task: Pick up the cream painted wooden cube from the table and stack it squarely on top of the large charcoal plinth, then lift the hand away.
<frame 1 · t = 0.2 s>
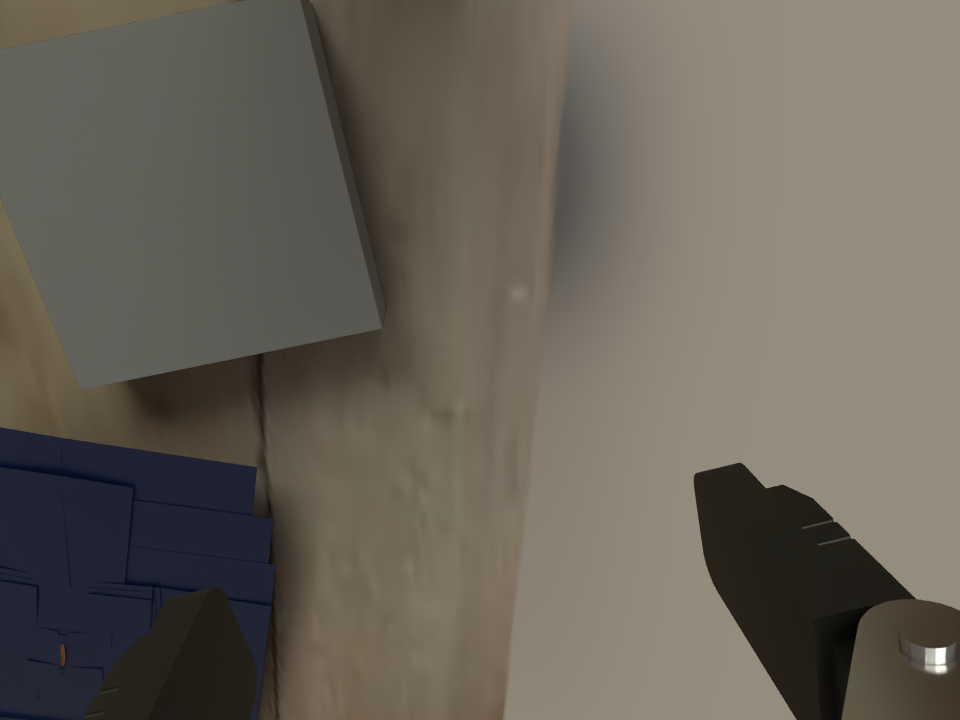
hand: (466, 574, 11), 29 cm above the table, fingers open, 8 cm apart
papers: (85, 610, 45), on the table
charcoal plinth: (206, 197, 37), on the table
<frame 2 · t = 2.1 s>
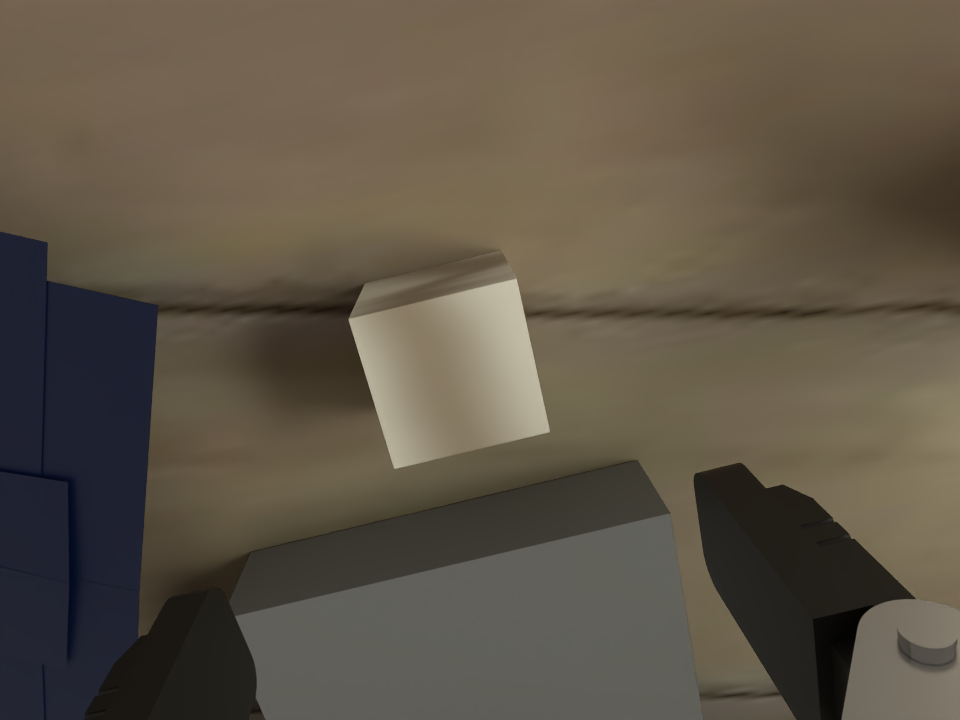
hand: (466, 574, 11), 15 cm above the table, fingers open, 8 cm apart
cream cube: (449, 331, 25), on the table
charcoal plinth: (487, 660, 30), on the table
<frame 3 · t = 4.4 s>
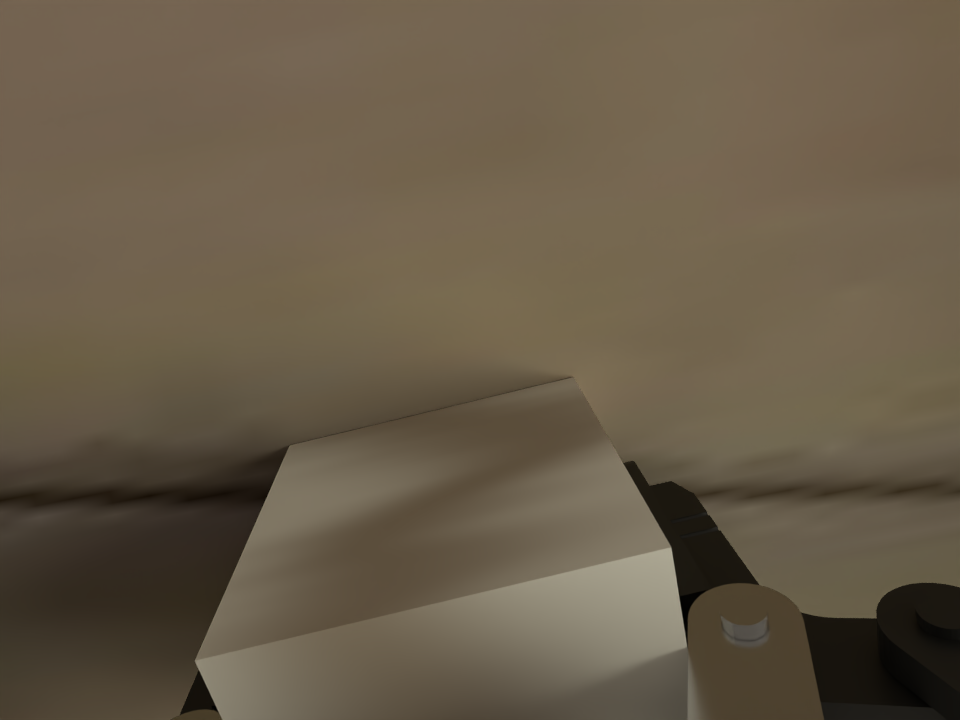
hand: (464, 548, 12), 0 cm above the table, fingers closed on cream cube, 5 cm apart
cream cube: (465, 533, 13), on the table, touching gripper
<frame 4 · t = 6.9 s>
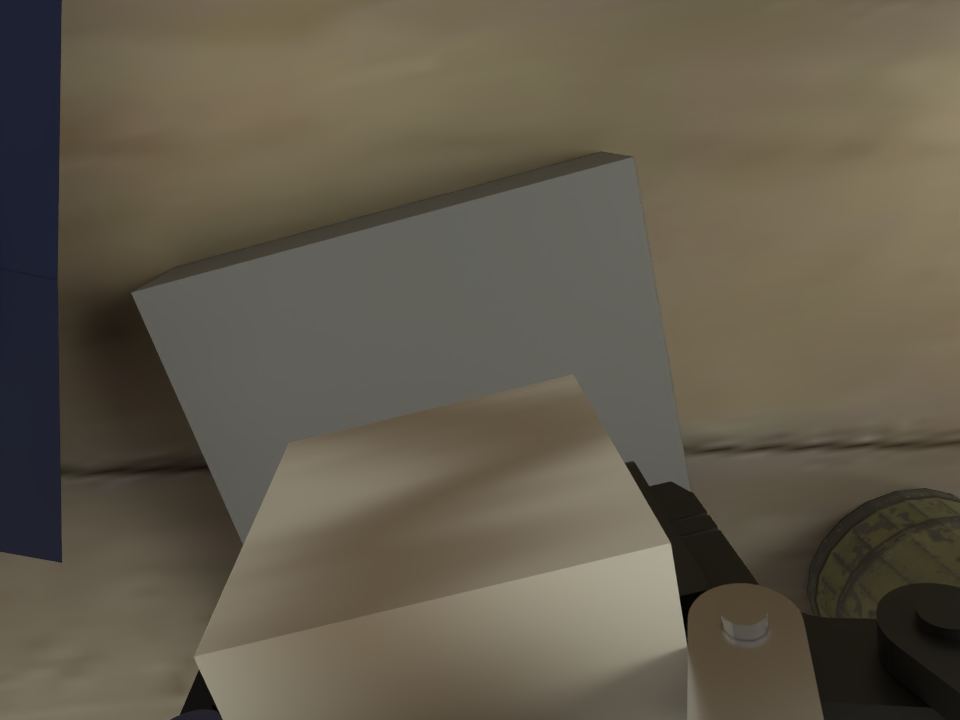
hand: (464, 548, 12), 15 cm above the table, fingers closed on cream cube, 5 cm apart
cream cube: (464, 530, 12), point 15 cm above the table, touching gripper
thermos: (894, 569, 32), on the table
charcoal plinth: (446, 405, 27), on the table
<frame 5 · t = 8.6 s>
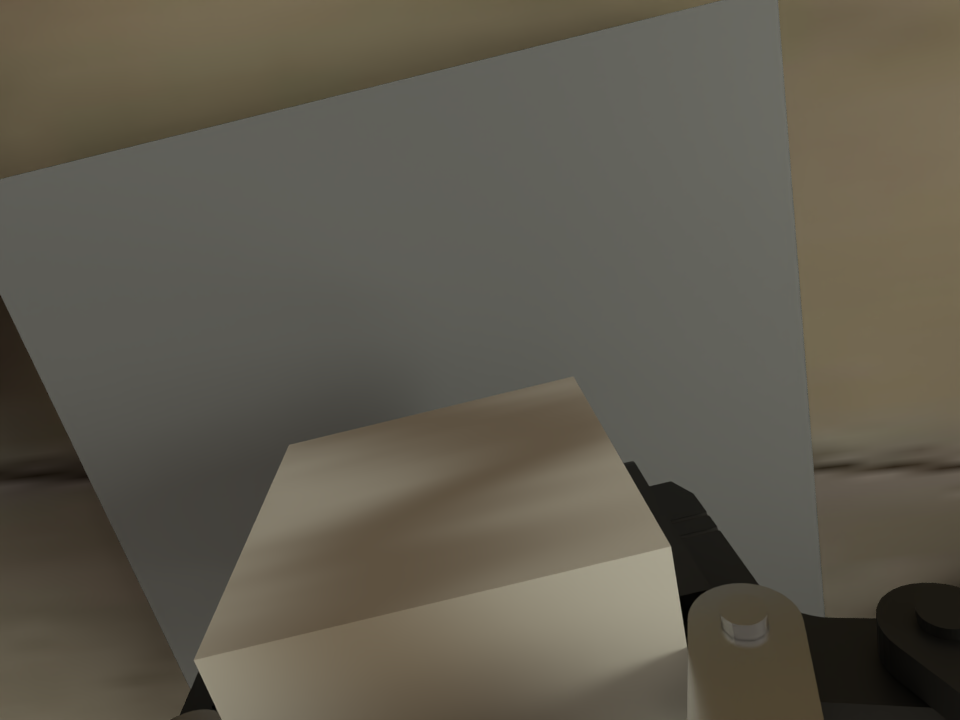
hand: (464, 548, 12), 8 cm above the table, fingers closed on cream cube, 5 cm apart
cream cube: (464, 532, 12), point 7 cm above the table, touching gripper
charcoal plinth: (455, 394, 19), on the table
when the fingers open (6 cm above the table, at t = 9.8 s): cream cube drops 1 cm, resting on charcoal plinth.
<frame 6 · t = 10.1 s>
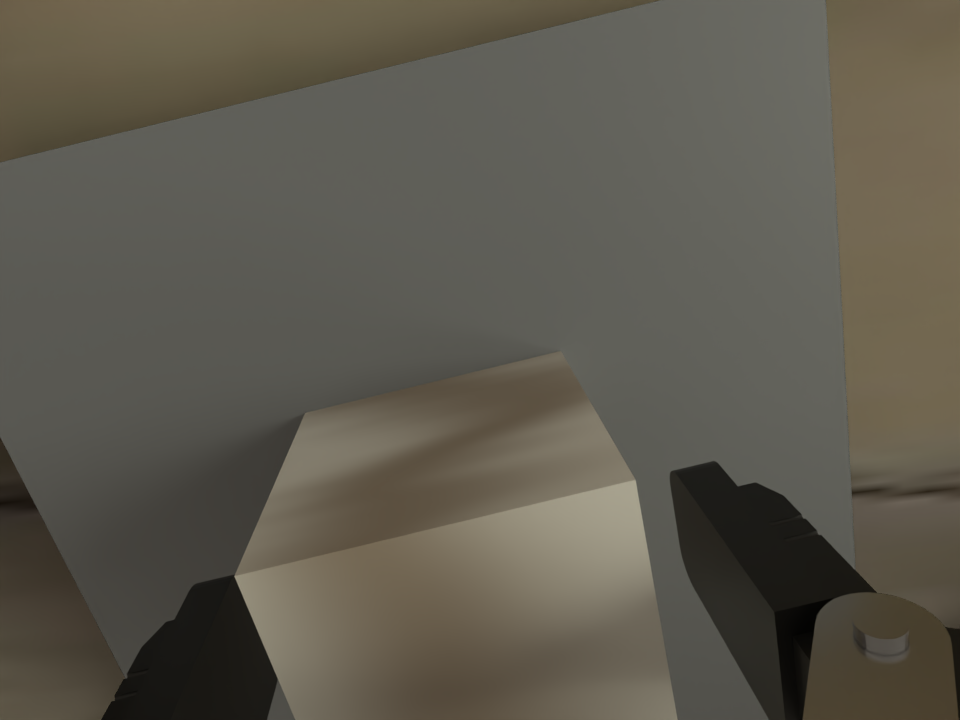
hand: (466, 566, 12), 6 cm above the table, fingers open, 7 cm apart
cream cube: (463, 494, 14), point 4 cm above the table, touching charcoal plinth
charcoal plinth: (453, 415, 18), on the table
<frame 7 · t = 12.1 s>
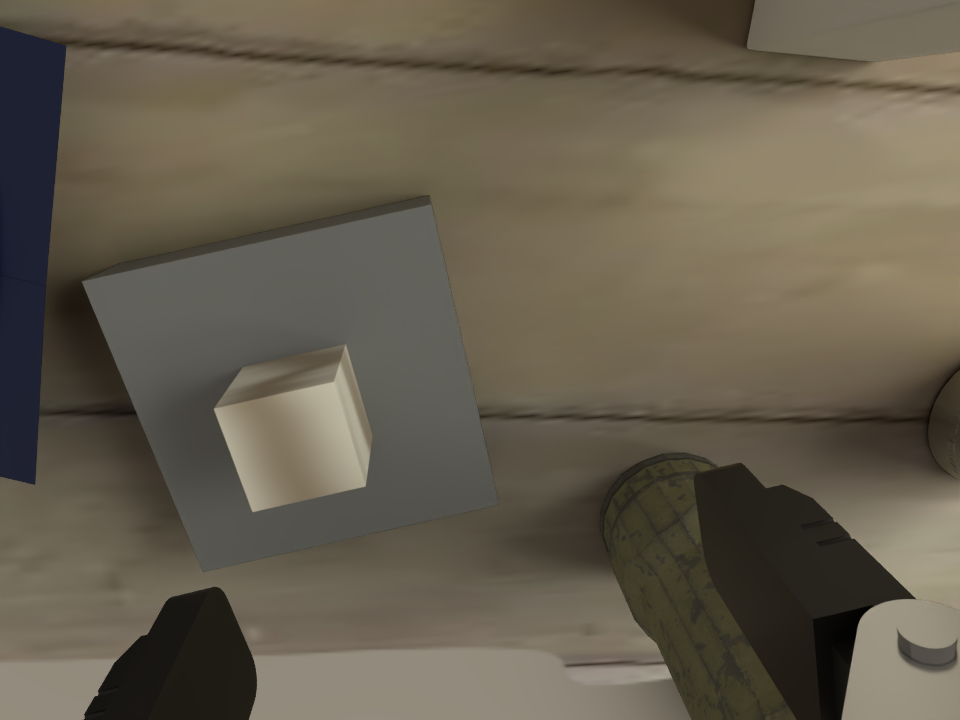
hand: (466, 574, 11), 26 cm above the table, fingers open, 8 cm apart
cream cube: (309, 402, 33), point 4 cm above the table, touching charcoal plinth
thermos: (666, 514, 42), on the table
charcoal plinth: (319, 374, 37), on the table
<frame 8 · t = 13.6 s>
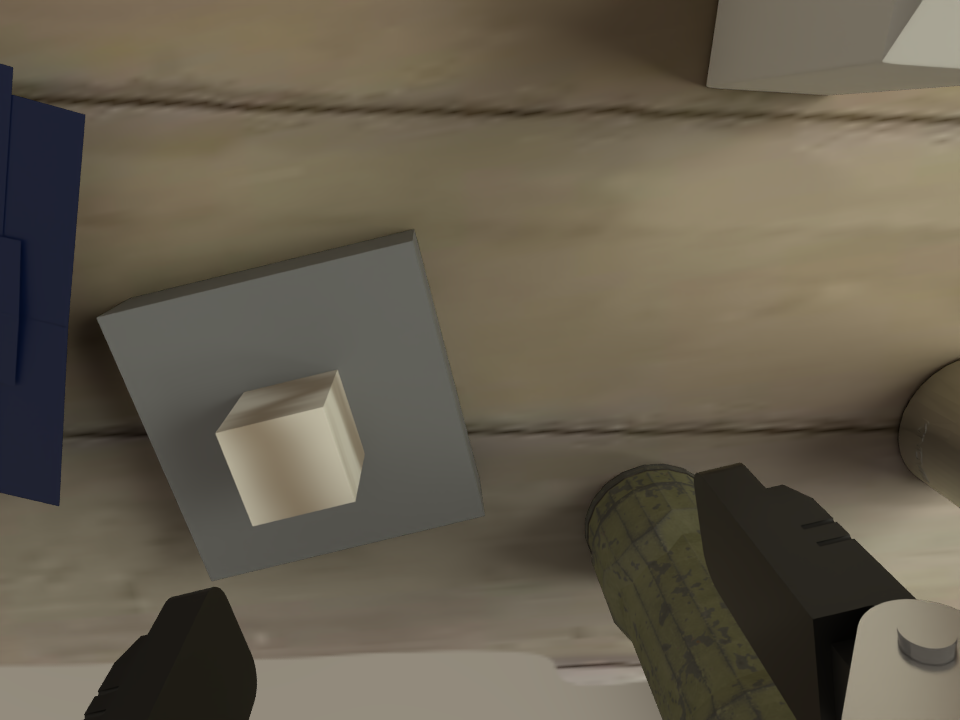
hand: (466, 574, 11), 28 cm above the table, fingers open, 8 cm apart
cream cube: (305, 423, 36), point 4 cm above the table, touching charcoal plinth
milk carton: (779, 18, 35), on the table
thermos: (649, 522, 45), on the table
charcoal plinth: (316, 395, 40), on the table
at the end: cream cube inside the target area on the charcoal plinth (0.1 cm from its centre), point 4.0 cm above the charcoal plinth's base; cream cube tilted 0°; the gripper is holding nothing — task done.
